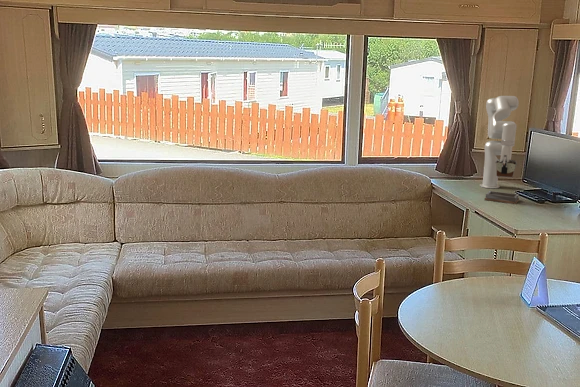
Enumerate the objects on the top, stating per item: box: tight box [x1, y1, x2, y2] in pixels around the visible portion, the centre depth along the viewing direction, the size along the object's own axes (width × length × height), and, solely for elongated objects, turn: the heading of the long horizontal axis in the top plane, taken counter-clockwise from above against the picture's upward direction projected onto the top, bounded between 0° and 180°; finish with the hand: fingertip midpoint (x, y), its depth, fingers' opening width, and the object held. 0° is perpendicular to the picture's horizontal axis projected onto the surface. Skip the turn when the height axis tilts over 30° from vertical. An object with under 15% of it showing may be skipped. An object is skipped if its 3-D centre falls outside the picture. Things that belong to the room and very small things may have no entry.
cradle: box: [484, 190, 520, 205], centre depth 345 cm, size 13×18×4 cm
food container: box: [495, 158, 518, 178], centre depth 342 cm, size 12×6×10 cm, turn 70°
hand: (504, 172), depth 342 cm, fingers closed on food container, 5 cm apart
